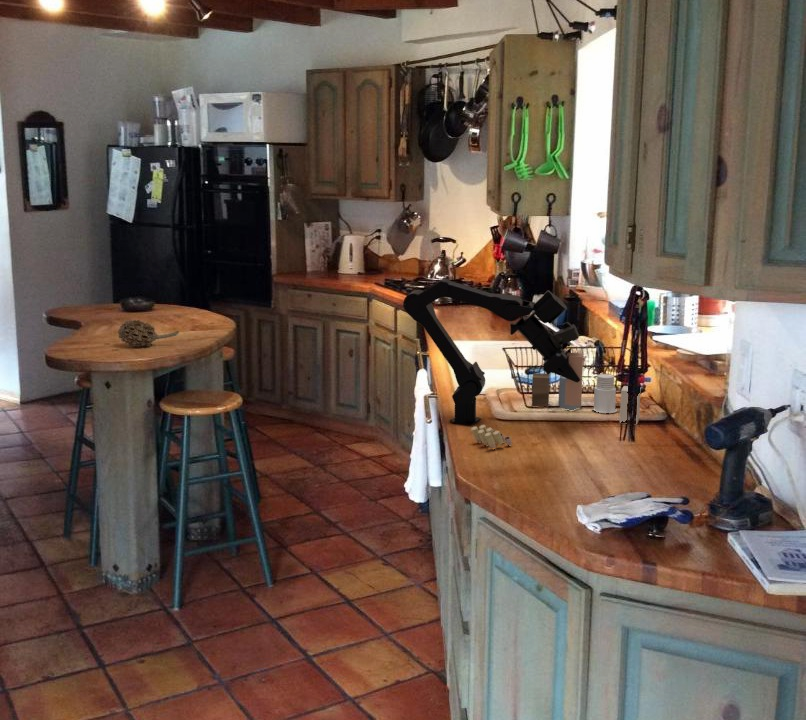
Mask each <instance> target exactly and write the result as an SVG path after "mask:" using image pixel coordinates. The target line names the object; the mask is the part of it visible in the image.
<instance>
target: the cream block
mask: <svg viewBox="0 0 806 720" xmlns="http://www.w3.org/2000/svg"><path fill="white" fill-rule="evenodd" d="M628 386H629V385H623V387H622V388H621V390H620V407H619V408H620V409H619V423H620V424H622V423H621V422H622V421H623V422H625V421H626V420H627V402H628V393H627V392H628ZM641 389H642V388H641V387H640V393H639V394H638V396H637V415H636V424H635V425H638V423H639V420H640V407H641V392H642V391H641Z"/></svg>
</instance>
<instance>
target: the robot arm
mask: <svg viewBox="0 0 806 720" xmlns="http://www.w3.org/2000/svg"><path fill="white" fill-rule="evenodd" d="M443 297H447V298H450V299H454V300H456V301H460V302H464V303H466V304H469V305H472V306H477V307H479V308H483V309H486V310H488V311H489V312H491V313H492V314H494V315H496V316H497V317H499V318H501V319H502V320H505V321H507V322H511V323H510V324H509V327H510V333H509V334H510V335H511V336H513V335H514V334H515V333H516V332H517V331H518V332H519V333H520V335H521V336H523V337H524V339H525V340H527V342H528V343H529V344H530V345H531V349H532V350H534V351H537V352H538V354H540V355H541V356H542V360H543V361H544V362H543V365H542V370H543V371H544V372H545V374H548V375H549V374H555V375H558V376H559V377H565V378H567V379H570V380H572V381H574V382H577V383H578V382H579V381H580V378H579V377H578V375H577V374H576V372H575V371H574V369H573V368H572V367H571V365H570V364H569V355H568V356H567V353H572V348H571V347H570V346H571V345H572V341H573V342H574V341H577V340H578V339H579V337H580V334H579V332H578V329H577V326H576V325H575V323H573V324H572V323H570V321H566V322H564V323H562V325H561V329H559V330H557V331H554V330H553V329H550V328H549V329H548V328H547V327H546V326H545V325H544V324H550V325H551V324H552V323H554V322H555V321H556V319H558V318H559V317H560V316H561V315H562V314H564V312H566V311H567V310H568V307H567V305H566V304H565V302H564V301H563V300H562V299H561V298H560V297H559V296H557V295H556V294H554V293H552V291H550V290H546V292H544V294H543V295H542V296H541V297H540V298H539V299H537V300H536V302H534V301H530V300H529V301H528V300H525V299H524V300H523V299H522V298H521V297H520V296H518V295H515V294H507V293H494V292H493V293H492V292H488V291H485V290H481V289H478V288H476V287H471V286H468V285H466V284H463V283H459V282H455V281H452V280H450V279H448V278H442V279H440V280H439V281H438V282H436V283H434V284H432V285H430V286H427V287H426V288H424V289H422V290H421V289H415V290H413V291H411V292H410V293H408V294H407V295H406V296H405V297H404V299H403V302H402V303H403V304H402V307H403V309H404V311H405V312H406V314H408V316H410V318H412V320H414V322H415V323H418V324H419V325H420V326H422V327H423V329H424V330H425V332H426V333H427V334H428V336H429V337H430V339H431V340H432V341H433V343H434V345H435V346H436V347H437V349H438V350H439V351H440V353H441V355H442V356H443V357H444V359H445V360H446V361H447V363H448V365H449V366H450V368H451V369H452V371H453V374H454V377H455V380H456V382H457V385H458V386H457V387H456V389H455V390H454V392H453V394H452V395H451V398H452V400H453V403H454V417H453V418H451V419H449V423H450V424H451V423H452V424H458V425H463V426H468V427H469V426H470V427H471V426H473V425H475V424H477V423H478V422H480V421H481V420H482V417H478V416H477V397H478V396H480V395H481V393H482V391H483V389H484V388H485V385H486V377H485V374H486V373H485V371H483V370H482V369H481V367H480V366H479V364H478V362H477V361H474V362H473V363H471V362H470V361H468V359H466V357H465V356H464V354H463V353H462V352H461V350H460V348H459V347H458V346H457V345H456V343H455V341H454V340H453V339H452V337H451V336H450V334H449V333H448V332H447V331H446V328H445V327H444V326H443V324H442V323H441V321H440V320H439V319H438V317H437V315H436V311H435V309H434V305H433V303H434V302H436V301H437V300H439V299H441V298H443ZM514 321H515V322H514ZM567 347H569V348H568V349H567V350H566V348H567Z"/></svg>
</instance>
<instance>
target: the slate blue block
mask: <svg viewBox="0 0 806 720" xmlns="http://www.w3.org/2000/svg"><path fill="white" fill-rule="evenodd" d="M558 382H559V383H558V405H557V406H560V407H562V408H565V409H569V410H574V409H576V408H578V407H581V408H582V404H581V405H580V406H573V405H565V385H566V378H565V377H562V376H559V379H558ZM582 397H583V396H582ZM582 397H581V399H582Z"/></svg>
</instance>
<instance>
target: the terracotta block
mask: <svg viewBox="0 0 806 720" xmlns="http://www.w3.org/2000/svg"><path fill="white" fill-rule="evenodd" d="M568 355H569V364H570V365H571V367H572V368H573V369H574V371H575V372H576V374H577V375H578V377H579V378H580V381H579V382H578V383H577V382H574V381H572V380H570V379H567V378H566V385H565V405H573V406H580V405H581V406H582V398H581V397H583V395H582V394H583V374H584V373H583V372H584V371H583V369H584V353H583V352H582V353H581V352H571V353H567V356H568Z"/></svg>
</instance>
